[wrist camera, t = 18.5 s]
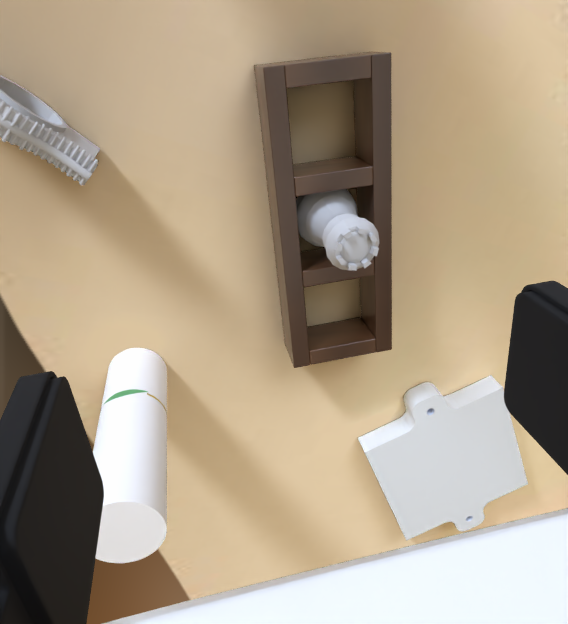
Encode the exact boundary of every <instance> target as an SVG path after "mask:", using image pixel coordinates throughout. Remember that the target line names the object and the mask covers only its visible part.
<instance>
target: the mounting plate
mask: <svg viewBox="0 0 568 624" xmlns="http://www.w3.org/2000/svg"><path fill="white" fill-rule="evenodd" d="M403 400H404V403H405V406H406V411H405V413H404V415H403V416H402V417H400V418H399V419H397V420H395V421H393V422H390V423H388V424H386V425H384V426H382V427H380V428H378V429H376V430H373V431H371V432H369V433H367V434H365V435H363V436H361V437H359V438H358V440H359V442H360V444H361V446H362V448H363V450H364V452H365V454H366V456H367V459H368V461H369V463H370V465H371V467H372V469H373V471H374V473H375V475H376V478H377V480H378V482H379V484H380V486H381V488H382V490H383V492H384V494H385V497H386V499H387V501H388V503H389V505H390V507H391V509H392V511H393V513H394V516H395V518H396V520H397V522H398V524H399V526H400V528H401V530H402V532H403V534H404V536H405V539H406V541H407V540H409V539H411V538H413V537H415V536H417V535H420V534H422V533H424V532H426V531H428V530H430V529H432V528H435V527H437V526H439V525H441V524H443V523H446V522H453V523H454V525H455V526H456V528H457V529H458V530H459V531H466V530H469V529H471V528H473V527H475V526H477V525H479V524H481V523H482V522H483V520H484V518H485V516H484V513H483V508H484V506H485V505H486V504H487V503H489V502H490V501H493V500H495V499H497V498H499V497H501V496H503V495H505V494H508V493H510V492H512V491H514V490H516V489H518V488H520V487H523V486H525V485H527V484H528V482H527V478H526V474H525V470H524V466H523V463H522V459H521V455H520V451H519V447H518V443H517V440H516V436H515V432H514V428H513V424H512V421H511V417H510V413H509V411H508V409H507V407H506V405H505V402H504V390H503V387H502V386H501V385H500V384H499V383H498V382H497V381H496V380H495V379H494V378H493V377H492V376H491V375H490V376H488V377H486V378H484V379H482V380H480V381H477V382H475V383H473V384H471V385H469V386H467V387H465V388H463V389H460V390H458V391H456V392H454V393H452V394H450V395H447V396H442V394H441V393H440V392H439V391H438V389H437V388H436V387H435V385H434V384H432V383H430V382H425V383H422V384H420V385H418V386H416V387H413V388H411V389H410V390H408V391H407V392H406V393H405V395H404V399H403Z"/></svg>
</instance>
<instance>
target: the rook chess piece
mask: <svg viewBox="0 0 568 624" xmlns="http://www.w3.org/2000/svg"><path fill="white" fill-rule="evenodd" d="M296 207H297V219H298V230H299V234H300V236H301V237H303V238H304V240H306V241H307V242H309V243H311V244H313V245H314V246H319V247H325V249H326V254H327V257H328V259H329V260H330V261H331V263H332V264H333V265H334V266H336V267H338V268H339V269H342V270H355V271H357V269H359V268H362V267H364V268H366V267H367V266H369V265H370V264H372V263H371V262H370V261H371V260H372V258H373V257H374V256H377V254H378V250H379V248H378V246H379V235H378V231H377V230H376V228H375V226H374V225H373V223H371V222H369V221H368V220H366V219H365V218H359V217H358V213H357V206H356V202H355V200H354V199H353V197H352V196H351V194H350V193H349V192H348V190H347V189H343V190H336V191H330V192H323V193H316V194H309V195H303V196H298V198H297V199H296Z"/></svg>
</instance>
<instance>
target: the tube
mask: <svg viewBox="0 0 568 624" xmlns="http://www.w3.org/2000/svg"><path fill="white" fill-rule="evenodd" d="M93 455H94V458H95V461H96V464H97V467H98V469H99V472H100V475H101V478H102V482H103V488H104V500H103V508H102V515H101V522H100V529H99V536H98V543H97V550H96V559H98V560H101V561H104V562H110V563H127V562H132V561H137V560H140V559H142V558H145V557H147V556H148V555H150V554H152V553H153V552H154V551H156V550H157V549H158V548H159V547H160V546H161V544H162V543H163V541H164V539H165V536H166V533H167V367H166V364H165V362H164V360H163V359H162V358H161V357H160V356H159V355H158V354H157V353H155V352H153V351H151V350H148V349H144V348H131V349H127V350H125V351H122V352H121V353H119V354H117V355H116V356H115V357H114V358H113V360H112V361H111V363H110V365H109V369H108V374H107V380H106V385H105V390H104V396H103V401H102V406H101V412H100V417H99V422H98V428H97V433H96V439H95V444H94V450H93Z"/></svg>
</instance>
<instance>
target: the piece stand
mask: <svg viewBox="0 0 568 624" xmlns="http://www.w3.org/2000/svg"><path fill="white" fill-rule="evenodd" d="M254 70H255V79H256V88H257V97H258V106H259V115H260V124H261V133H262V142H263V151H264V160H265V169H266V179H267V188H268V197H269V206H270V215H271V224H272V233H273V242H274V251H275V260H276V269H277V278H278V287H279V296H280V305H281V314H282V323H283V332H284V341H285V346H286V348H287V351H288V354H289V356H290V359H291V361H292V364H293V366H294V368H297V367H302V366H307V365H310V364H316V363H322V362H327V361H332V360H337V359H343V358H348V357H353V356H358V355H364V354H369V353H374V352H381V351H386V350H391V349H392V279H391V53H388V52H365V53H356V54H347V55H339V56H330V57H321V58H313V59H304V60H295V61H287V62H278V63H269V64H261V65H254ZM350 80H353V85H354V117H355V148H356V156H351V157H344V158H337V159H330V160H323V161H316V162H308V163H301V164H294V165H293V161H292V149H291V138H290V126H289V114H288V103H287V91H286V88H293V87H301V86H309V85H317V84H326V83H334V82H342V81H350ZM356 187H357V211H358V217H359V218H365V219H366V220H368V221H369V222H371V223H373V225H374V226H375V228H376V230H377V231H378V235H379V246H378V248H379V250H378V254H377V256H374V257H373V258H372V260H371V261H370V262H371V263H372V264H370V265H369V266H367V267H366V268H364V267H362V268H359V269H357V271H355V270H342V269H339V268H338V267H336V266H334V265H333V264H332V263H331V261H330V260H329V259H328V257H327V254H326V249H325V248H323V249H316V250H310V251H304V252H300V242H299V230H298V219H297V207H296V196H303V195H309V194H316V193H323V192H330V191H336V190H343V189H350V188H356ZM355 278H360V305H361V318H355V319H349V320H344V321H338V322H333V323H327V324H321V325H316V326H310V327H307V323H306V311H305V300H304V288H303V287H308V286H314V285H320V284H326V283H332V282H338V281H343V280H349V279H355Z"/></svg>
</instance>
